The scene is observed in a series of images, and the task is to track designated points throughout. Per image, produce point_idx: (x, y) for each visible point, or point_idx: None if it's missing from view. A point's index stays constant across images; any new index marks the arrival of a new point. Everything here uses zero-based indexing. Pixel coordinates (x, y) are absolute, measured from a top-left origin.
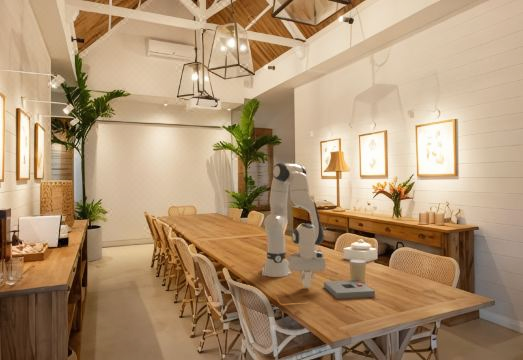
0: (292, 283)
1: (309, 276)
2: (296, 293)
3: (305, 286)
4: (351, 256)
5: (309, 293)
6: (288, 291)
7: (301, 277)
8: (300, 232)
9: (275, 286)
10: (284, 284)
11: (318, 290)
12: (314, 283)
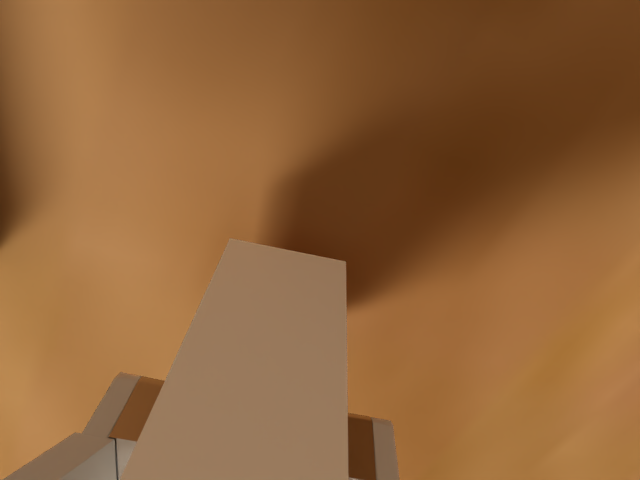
0: None
1: (205, 407)
2: (578, 123)
3: (330, 264)
4: None
5: (353, 35)
6: (618, 257)
7: (395, 449)
8: None
9: (612, 453)
10: (469, 472)
11: (121, 143)
12: None
